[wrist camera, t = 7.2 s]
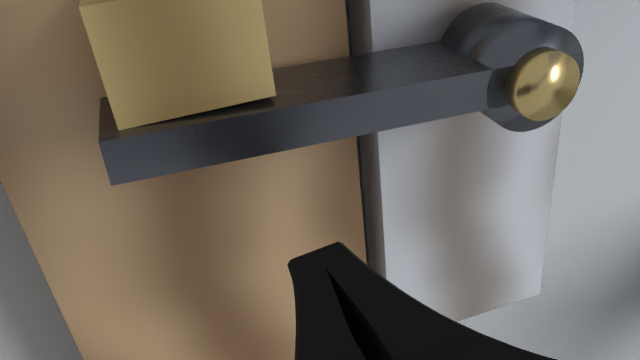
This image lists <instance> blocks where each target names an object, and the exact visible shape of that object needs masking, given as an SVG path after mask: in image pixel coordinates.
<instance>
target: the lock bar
mask: <svg viewBox="0 0 640 360" xmlns="http://www.w3.org/2000/svg"><path fill="white" fill-rule="evenodd" d="M583 65H584V58H583V52H582V48H581V45H580V43H579V41H578V39H577V38H576V37H575V36H574V35H573V33H572V32H570V31H569V30H567V29H565V28H563V27H560V26H558V25H555V24H552V23H550V22H547V21H544V20H542V19H539V18H536V17H534V16H531V15H528V14H526V13H523V12H520V11H518V10H515V9H512V8H510V7H507V6H504V5H502V4H498V3H492V2H488V3H481V4H477V5H475V6H472V7H470V8H468V9H467V10H465V11H464V12H462V13H461V14H460V15H459V16H457V17H456V18H455V19H454V20H453V22H452V23H451V24H450V25H449V27H448V28H447V30H446V31H445V33H444V35H443V37H442V39H441V41H436V42H430V43H424V44H418V45H412V46H407V47H401V48H395V49H389V50H383V51H377V52H371V53H365V54H359V55H353V56H347V57H341V58H335V59H329V60H323V61H317V62H311V63H305V64H299V65H293V66H287V67H281V68H275V69H272V72H273V78H274V85H275V91H276V96H272V97H267V98H263V99H258V100H254V101H249V102H245V103H240V104H236V105H231V106H227V107H222V108H218V109H214V110H209V111H205V112H200V113H196V114H191V115H187V116H182V117H178V118H173V119H169V120H164V121H160V122H155V123H151V124H146V125H142V126H137V127H133V128H128V129H123V130H118V128H117V125H116V121H115V118H114V115H113V112H112V109H111V106H110V103H109V100H108V97H103V98H100V114H99V139H98V143H99V146H100V150H101V153H102V157H103V160H104V164H105V167H106V170H107V174H108V177H109V181H110V184H111V186H114V185H119V184H124V183H129V182H134V181H138V180H143V179H148V178H153V177H158V176H163V175H168V174H173V173H178V172H183V171H188V170H193V169H198V168H203V167H207V166H212V165H217V164H222V163H227V162H232V161H237V160H242V159H247V158H252V157H257V156H262V155H267V154H271V153H276V152H281V151H286V150H291V149H296V148H301V147H306V146H311V145H316V144H321V143H326V142H331V141H336V140H340V139H345V138H350V137H355V136H360V135H365V134H370V133H375V132H380V131H385V130H390V129H395V128H400V127H405V126H409V125H414V124H419V123H424V122H429V121H434V120H439V119H444V118H449V117H454V116H459V115H464V114H469V113H473V112H478V111H479V112H481V113H482V114H484V115H485V116H487V117H488V118H490V119H491V120H492V121H494V122H495V123H497V124H498V125H500V126H501V127H503V128H505V129H507V130H510V131H514V132H526V131H531V130H535V129H537V128H540V127H542V126H544V125H546V124H547V123H549V122H550V121H552V120H553V119H554V118H556V117H557V116H558V115H559V114H560V113H561V112H562V111H563V110H564V109H565V108H566V107H567V106H568V105H569V103H570V102H571V101H572V99H573V97H574V96H575V94H576V92H577V89H578V86H579V84H580V81H581V77H582V73H583Z"/></svg>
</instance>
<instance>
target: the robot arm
mask: <svg viewBox="0 0 640 360" xmlns="http://www.w3.org/2000/svg"><path fill="white" fill-rule="evenodd" d="M287 266H288V269H289V272H290V275H291V278H292V282H293V288H294V297H295V315H296V338H295V359H294V360H556V359H552V358H548V357H545V356H541V355H538V354H535V353H532V352H529V351H526V350H523V349H519V348H517V347H514V346H511V345H509V344H506V343H504V342H501V341H499V340H496V339H494V338H491V337H489V336H486V335H483V334H481V333H479V332H476V331H474V330H472V329H470V328H468V327H466V326H464V325H461V324H459V323H457V322H455V321H453V320H452V319H450V318H448V317H446V316H444V315H442V314H440V313H438V312H436V311H435V310H433V309H431V308H429V307H428V306H426V305H424V304H423V303H421V302H419V301H418V300H416V299H415V298H413V297H411V296H410V295H408V294H407V293H405V292H404V291H402V290H401V289H399V288H398V287H396V286H395V285H394V284H392V283H391V282H389V281H388V280H387V279H385V278H384V277H382V276H381V275H380V274H378V273H377V272H376V271H374V270H373V269H372V268H371V267H369V266H368V265H367V264H366V263H364V262H363V261H362V260H361V259H360V258H358V257H357V256H356V255H355V254H354V253H353V252H352V251H351V250H349V249H348V248H347V247H346V246H345V245H344V244H343V243H341V242H339V241H338V242H335V243H333V244H330V245H327V246H325V247H322V248H319V249H317V250H314V251H312V252H309V253H306V254H304V255H301V256H298V257H296V258H293V259H291V260H290V261H289V263H288V264H287Z"/></svg>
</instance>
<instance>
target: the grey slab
mask: <svg viewBox="0 0 640 360" xmlns="http://www.w3.org/2000/svg"><path fill="white" fill-rule="evenodd" d="M348 2H349V14H350V27H351V40H352V52H353V55H359V54H365V53H371V52H377V51H383V50H389V49H395V48H401V47H407V46H412V45H418V44H424V43H430V42H436V41H441V39H442V37H443V35H444V33H445V31H446V30H447V28H448V27H449V25H450V24H451V23H452V22H453V20H454V19H455V18H456V17H457V16H459V15H460V14H461V13H462V12H464V11H465V10H467V9H468V8H470V7H472V6H475V5H477V4H481V3H488V2H492V3H498V4H502V5H504V6H507V7H510V8H512V9H515V10H518V11H520V12H523V13H526V14H528V15H531V16H534V17H536V18H539V19H542V20H544V21H547V22H550V23H552V24H555V25H558V26H560V27H563V28H565V29H567V30H569V31H570V32H572V29H573V21H574V13H575V5H576V0H348ZM347 56H350V55H349V43H348V31H347V19H346V7H345V0H0V182H1V184H2V186H3V188H4V190H5V192H6V194H7V197H8V199H9V201H10V203H11V205H12V207H13V209H14V212H15V214H16V216H17V218H18V220H19V222H20V225H21V227H22V229H23V231H24V233H25V235H26V237H27V240H28V242H29V244H30V246H31V248H32V250H33V252H34V255H35V257H36V259H37V261H38V263H39V265H40V267H41V270H42V272H43V274H44V276H45V278H46V280H47V283H48V285H49V287H50V289H51V291H52V293H53V295H54V298H55V300H56V302H57V304H58V306H59V308H60V310H61V313H62V315H63V317H64V319H65V321H66V323H67V325H68V328H69V330H70V332H71V334H72V336H73V338H74V341H75V343H76V345H77V347H78V349H79V351H80V353H81V356H82V358H83V360H294V359H295V338H296V315H295V297H294V288H293V282H292V278H291V275H290V272H289V269H288V266H287V264H288V263H289V261H290V260H291V259H293V258H296V257H298V256H301V255H304V254H306V253H309V252H312V251H314V250H317V249H319V248H322V247H325V246H327V245H330V244H333V243H335V242H338V241H339V242H341V243H343V244H344V245H345V246H346V247H347V248H348V249H349V250H351V251H352V252H353V253H354V254H355V255H356V256H357V257H358V258H360V259H361V260H362V261H363V262H364V263H366V264H367V261H366V249H365V237H364V225H363V213H362V201H361V189H360V176H359V164H358V152H357V140H356V136H355V137H350V138H345V139H340V140H336V141H331V142H326V143H321V144H316V145H311V146H306V147H301V148H296V149H291V150H286V151H281V152H276V153H271V154H267V155H262V156H257V157H252V158H247V159H242V160H237V161H232V162H227V163H222V164H217V165H212V166H207V167H203V168H198V169H193V170H188V171H183V172H178V173H173V174H168V175H163V176H158V177H153V178H148V179H143V180H138V181H134V182H129V183H124V184H119V185H114V186H111V184H110V181H109V177H108V174H107V170H106V167H105V164H104V160H103V157H102V153H101V150H100V146H99V143H98V139H99V114H100V98H103V97H108V100H109V103H110V106H111V109H112V112H113V115H114V118H115V121H116V125H117V128H118V130H123V129H128V128H133V127H137V126H142V125H146V124H151V123H155V122H160V121H164V120H169V119H173V118H178V117H182V116H187V115H191V114H196V113H200V112H205V111H209V110H214V109H218V108H222V107H227V106H231V105H236V104H240V103H245V102H249V101H254V100H258V99H263V98H267V97H272V96H276V91H275V85H274V78H273V72H272V69H275V68H281V67H287V66H293V65H299V64H305V63H311V62H317V61H323V60H329V59H335V58H341V57H347ZM561 118H562V112H561V113H560V114H559V115H558V116H557V117H556V118H554V119H553V120H552V121H550V122H549V123H547V124H546V125H544V126H542V127H540V128H537V129H535V130H531V131H526V132H514V131H510V130H507V129H505V128H503V127H501V126H500V125H498V124H497V123H495V122H494V121H492V120H491V119H490V118H488V117H487V116H485V115H484V114H482V113H481V112H479V111H478V112H473V113H469V114H464V115H459V116H454V117H449V118H444V119H439V120H434V121H429V122H424V123H419V124H414V125H409V126H405V127H400V128H395V129H390V130H385V131H380V132H375V133H370V134H365V135H360V136H359V140H360V153H361V165H362V178H363V191H364V203H365V216H366V228H367V241H368V254H369V266H370V267H371V268H372V269H373V270H374V271H376V272H377V273H378V274H380V275H381V276H382V277H384V278H385V279H387V280H388V281H389V282H391V283H392V284H394V285H395V286H396V287H398V288H399V289H401V290H402V291H404V292H405V293H407V294H408V295H410V296H411V297H413V298H415V299H416V300H418V301H419V302H421V303H423V304H424V305H426V306H428V307H429V308H431V309H433V310H435V311H436V312H438V313H440V314H442V315H444V316H446V317H448V318H450V319H452V320H453V321H455V322H457V321H460V320H463V319H466V318H469V317H472V316H475V315H478V314H481V313H484V312H487V311H490V310H493V309H496V308H499V307H502V306H505V305H508V304H511V303H514V302H517V301H520V300H523V299H526V298H529V297H532V296H535V295H538V294H540V287H541V279H542V271H543V263H544V255H545V247H546V239H547V231H548V223H549V215H550V207H551V199H552V191H553V183H554V175H555V166H556V158H557V150H558V142H559V134H560V126H561Z"/></svg>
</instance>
